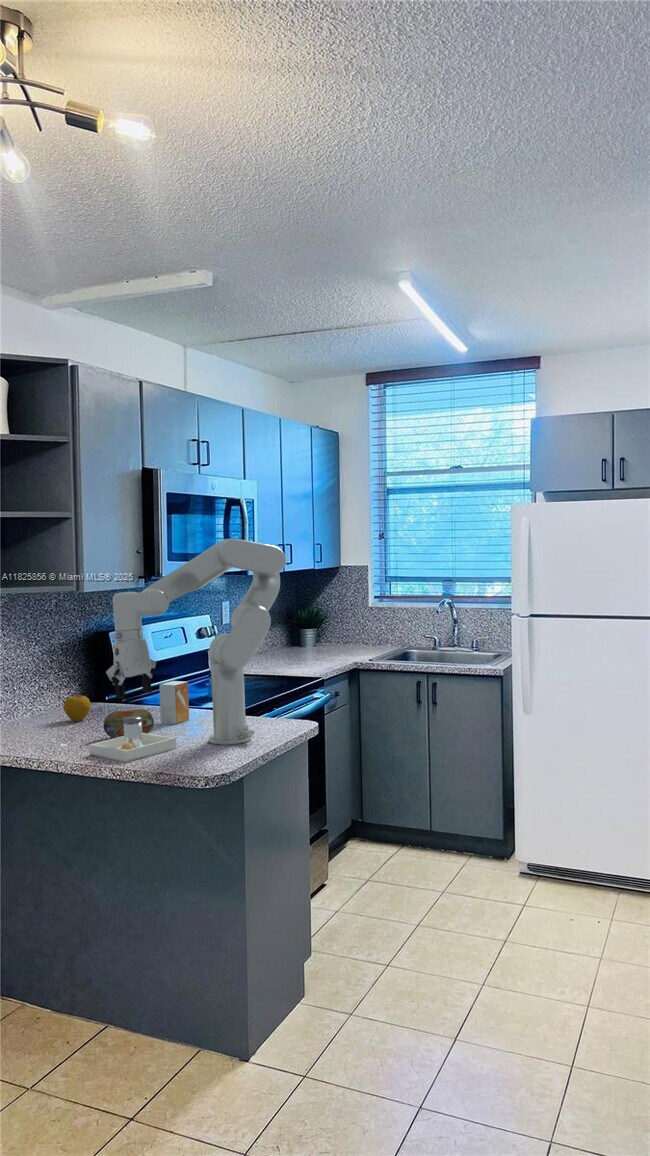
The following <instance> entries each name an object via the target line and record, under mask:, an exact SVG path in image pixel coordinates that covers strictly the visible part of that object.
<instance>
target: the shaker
mask: <svg viewBox="0 0 650 1156" xmlns="http://www.w3.org/2000/svg"><path fill="white" fill-rule="evenodd" d="M123 723H124V744H125V743H130V744H132V745H133V747H134V748H137V747H140V746H143V743H142V717H140V716H132V717H126V718H123Z"/></svg>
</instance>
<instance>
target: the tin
mask: <svg viewBox="0 0 650 1156" xmlns="http://www.w3.org/2000/svg"><path fill="white" fill-rule="evenodd" d="M132 716H140V717H142V733H147V734H151V732H152V730H153V728H154V725H155V724H154V721H155V720H154V716H153V715H152V714H151V712H150V711H148V710H147V709H144V708H137V709H126V710H125V709H124V710H116V711H115V710H114V711H112V712H111V713H108V714H107V715H106V717H105V718H104V720H103V729H104V732H105V734H106V735H107V736H109V737H110V739H114V738H118V737H122V736H124V723H123V718H126V717H132Z"/></svg>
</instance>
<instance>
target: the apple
mask: <svg viewBox="0 0 650 1156" xmlns="http://www.w3.org/2000/svg"><path fill="white" fill-rule="evenodd" d="M91 706H92V703H91V701H90V699H89V697H87V696H85V695H78V694H77V695H74V696H70V697H67V698H66V699H65V701H64V704H63V710H64V712H65V714H66V716H67V717H68V718H69V720H70V721H72V722H78V721H79V720H80V721H84V719H86V717H87V716H88V714H89V713H90V711H91Z"/></svg>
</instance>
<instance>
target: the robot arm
mask: <svg viewBox="0 0 650 1156" xmlns="http://www.w3.org/2000/svg"><path fill="white" fill-rule="evenodd" d="M286 563H287V556H286V554H285V552H284V551H283V550H282V549H281V548H280V547H278V546H276V545H271V544H266V543H261V542H260V543H259V542H256V541H255V542H254V541H249V540H244V539H240V538H233V537H232V538H224V539H223V540H220V541H218V542H216V543H215V544H214V545H212V546H210V547H209V548H207V549H206V550H204V551H203V552H201V553H200V554H198V555H196V556H195V557H194V558H191V559H190V560H189V561H187V562H186V563H184V564H182V565H180V566H179V567H178V568H176V569H174V570H173V571H171V572H170V573H168V574H166V575H165V576H163V577H160V578H159V579H158V580H156V581H155V582H153V583H152V584H150V585H148V586H147V587H146V588H145V589H143V590H142V591H140V592H136V591H124V592H123V591H122V592H118V593H115V594H114V595H113V596H112V607H113V608H112V610H113V622H114V634H113V635H112V638H113V639H115V642H114V643H113V644H114V645H113V665H111V666H110V667H109V668H108V669H107V670H106V671H105V673H106V675H107V677H108V679H109V681H110V682H111V683H112V685H113V686H114V690H115V698H116V700H125V699H126V691H125V685H124V684H123V683H124V681H125V679H126V678H133V677H135V676H136V677H137V676H142V678H141V687H142V692H143V693H148V694H149V693H152V690H153V689H152V678H153V674H154V672H155V670H156V669H155V668H156V665H157V661H155V660H154V659H151V658H150V657H151V656H150V651H149V650H150V649H149V647H148V644H147V640H146V638H144V635H143V622H142V616H144V617H145V616H146V617H148V616H149V617H150V616H151V617H157V616H161V615H162V614H165V613H166V612H167V610H168V608H169V607H170V603H171V602H173V601H174V600H176V599H178V598H180V597H181V596H183V595H186V594H188V593H191V592H195V591H198V590H199V589H202V588H204V587H205V586H207V585H209V584H210V583H211V582H213V581H214V580H216V579H217V578H219V577H221V576H222V575H224V573H226V572H228V571H230V570H231V569H232V568H233V569H234V568H235V569H237V570H238V569H239V570H243V571H249V572H252V582H251V584H250V586H249V588H248V590H247V591H246V593H245V595H244V596H243V598H242V600H241V601H240V602H239V604H238V605H237V607H236V608H235V610H234V611H233V613H232V614H231V617H230V624H231V626H232V628H231V630H230V632H229V633H220V634H218V635H216V636H215V637H214V638H213V640H212V641H211V642H210V645H209V648H208V658H209V665H210V674H211V692H212V693H211V695H212V719H213V720H212V723H213V734H212V735H210V736H209V737H208V742H209V743H211V744H215V745H223V746H224V745H225V746H226V745H237V744H243V743H247V742H249V741H251V740H252V738H253V736H254V735H255V730H253V729H249V724H247V723H246V702H245V701H246V699H245V697H246V696H245V676H244V675H245V674H244V667H245V666H247V664H248V663H249V662H250V661H251V660H252V659H253V657H254V655H255V654H256V652H257V650H259V647H260V646H261V644H262V642H263V641H264V639H265V637H266V636H267V634H268V633H269V631H270V627H271V621H272V619H271V615H270V612H269V611H270V610H271V608H272V607H273V604H274V603H275V601H276V599H277V597H278V595H279V592H280V587H281V576H280V575H281V574H280V572H282V571H283V570H284V569H285V567H286Z"/></svg>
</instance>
